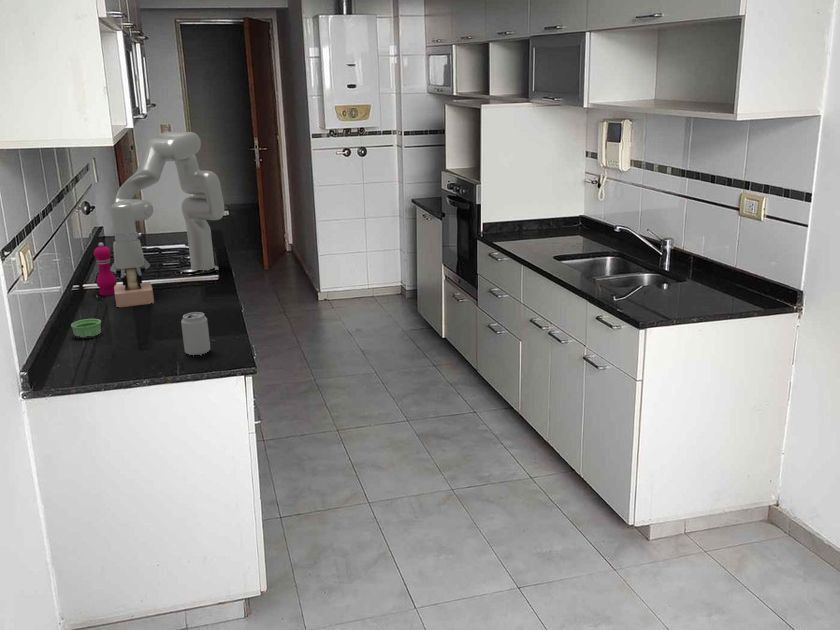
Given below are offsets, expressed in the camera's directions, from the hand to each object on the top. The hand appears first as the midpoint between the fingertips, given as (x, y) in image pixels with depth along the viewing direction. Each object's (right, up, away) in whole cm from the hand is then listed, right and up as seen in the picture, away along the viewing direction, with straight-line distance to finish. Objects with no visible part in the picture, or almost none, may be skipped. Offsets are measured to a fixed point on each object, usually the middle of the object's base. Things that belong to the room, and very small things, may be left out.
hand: (132, 285), depth 296 cm
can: (+39, -22, -55) cm, 71 cm away
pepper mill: (-14, -3, +13) cm, 19 cm away
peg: (0, -3, +1) cm, 3 cm away
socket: (0, -6, +2) cm, 6 cm away
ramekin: (-2, -18, -36) cm, 40 cm away
